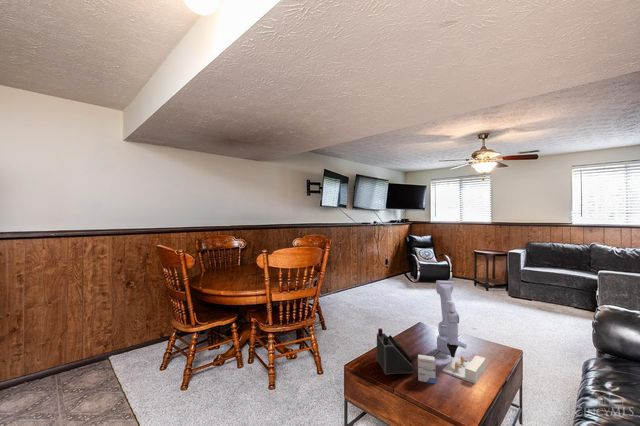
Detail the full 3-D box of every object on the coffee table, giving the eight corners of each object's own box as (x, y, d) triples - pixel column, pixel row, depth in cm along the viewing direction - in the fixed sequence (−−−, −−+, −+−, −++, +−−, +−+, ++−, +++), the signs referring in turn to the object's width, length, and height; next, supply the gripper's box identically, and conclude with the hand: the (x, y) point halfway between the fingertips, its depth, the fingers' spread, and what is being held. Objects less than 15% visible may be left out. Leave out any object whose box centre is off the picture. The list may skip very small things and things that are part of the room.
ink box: (435, 378, 148) (434, 356, 148) (435, 384, 143) (435, 360, 143) (418, 375, 151) (417, 353, 151) (418, 380, 146) (417, 358, 146)
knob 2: (460, 363, 160) (460, 357, 160) (462, 361, 162) (462, 354, 162) (465, 365, 158) (465, 358, 158) (468, 363, 160) (468, 356, 160)
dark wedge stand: (414, 375, 151) (414, 338, 152) (385, 376, 150) (384, 339, 151) (403, 360, 167) (403, 326, 168) (376, 361, 166) (376, 327, 167)
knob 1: (454, 370, 153) (454, 363, 153) (457, 367, 156) (457, 360, 156) (460, 372, 151) (460, 365, 151) (462, 369, 154) (462, 362, 154)
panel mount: (442, 371, 154) (442, 360, 155) (455, 358, 169) (455, 348, 169) (475, 384, 143) (475, 372, 143) (486, 368, 157) (486, 358, 157)
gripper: (437, 332, 167) (437, 354, 167) (463, 339, 157) (463, 363, 157) (442, 328, 172) (442, 350, 172) (467, 335, 162) (467, 359, 162)
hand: (452, 356), depth 164 cm, fingers closed
